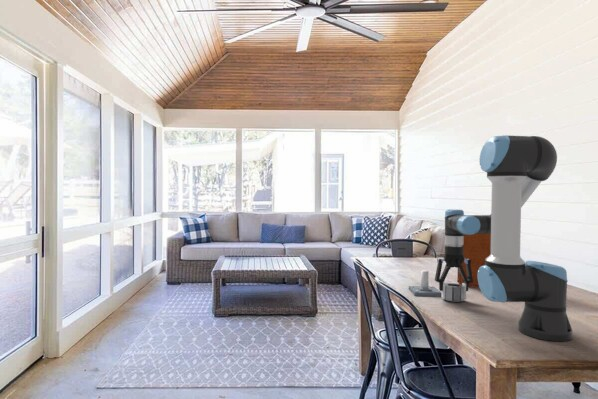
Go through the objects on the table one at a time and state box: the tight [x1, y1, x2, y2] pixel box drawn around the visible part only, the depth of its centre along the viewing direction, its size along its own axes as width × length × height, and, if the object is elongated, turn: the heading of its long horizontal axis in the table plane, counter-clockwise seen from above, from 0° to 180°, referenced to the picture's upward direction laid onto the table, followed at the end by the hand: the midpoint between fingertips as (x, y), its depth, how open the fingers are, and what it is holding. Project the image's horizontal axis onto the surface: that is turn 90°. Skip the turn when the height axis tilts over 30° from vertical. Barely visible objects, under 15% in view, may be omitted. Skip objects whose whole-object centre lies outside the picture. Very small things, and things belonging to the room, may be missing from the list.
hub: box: [444, 282, 465, 303], centre depth 168 cm, size 8×8×6 cm
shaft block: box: [408, 269, 441, 297], centre depth 181 cm, size 12×12×10 cm
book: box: [456, 234, 491, 288], centre depth 195 cm, size 23×8×30 cm, turn 73°
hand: (453, 298), depth 168 cm, fingers closed on hub, 8 cm apart
